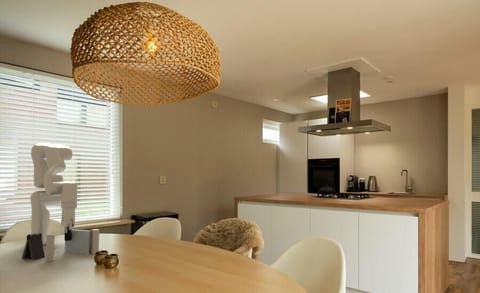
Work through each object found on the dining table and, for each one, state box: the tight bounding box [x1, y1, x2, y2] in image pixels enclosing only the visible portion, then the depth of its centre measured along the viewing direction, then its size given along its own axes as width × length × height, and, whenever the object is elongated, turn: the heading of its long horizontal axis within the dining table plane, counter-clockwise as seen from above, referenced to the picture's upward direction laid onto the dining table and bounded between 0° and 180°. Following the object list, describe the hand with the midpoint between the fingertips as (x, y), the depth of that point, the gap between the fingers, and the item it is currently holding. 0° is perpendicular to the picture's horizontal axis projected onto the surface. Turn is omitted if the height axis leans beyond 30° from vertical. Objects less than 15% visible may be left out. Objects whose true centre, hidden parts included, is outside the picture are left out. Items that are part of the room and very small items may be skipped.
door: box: [64, 228, 92, 256], centre depth 176 cm, size 17×2×13 cm, turn 71°
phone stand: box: [21, 233, 46, 261], centre depth 166 cm, size 9×6×12 cm, turn 65°
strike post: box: [45, 233, 56, 262], centre depth 161 cm, size 3×3×12 cm
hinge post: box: [90, 228, 100, 255], centre depth 174 cm, size 3×3×12 cm
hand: (68, 240), depth 174 cm, fingers closed
